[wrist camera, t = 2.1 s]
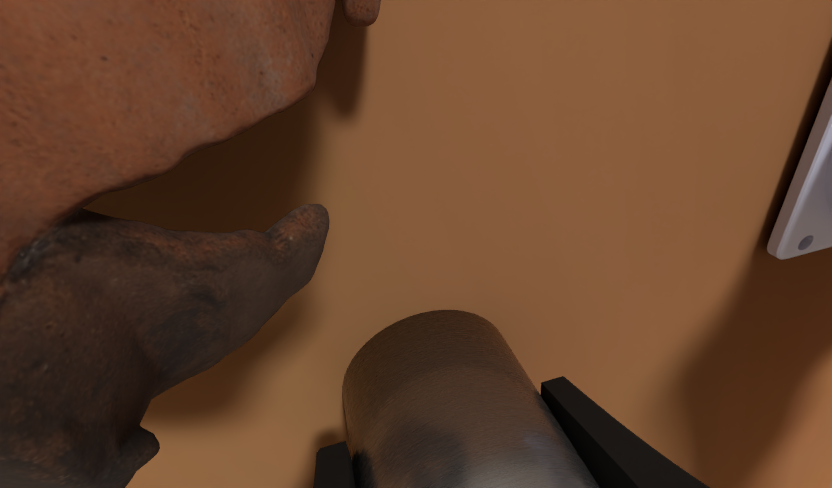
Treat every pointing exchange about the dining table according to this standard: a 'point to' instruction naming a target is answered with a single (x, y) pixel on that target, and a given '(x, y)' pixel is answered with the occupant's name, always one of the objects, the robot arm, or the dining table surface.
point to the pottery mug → (133, 240)
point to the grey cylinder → (451, 411)
